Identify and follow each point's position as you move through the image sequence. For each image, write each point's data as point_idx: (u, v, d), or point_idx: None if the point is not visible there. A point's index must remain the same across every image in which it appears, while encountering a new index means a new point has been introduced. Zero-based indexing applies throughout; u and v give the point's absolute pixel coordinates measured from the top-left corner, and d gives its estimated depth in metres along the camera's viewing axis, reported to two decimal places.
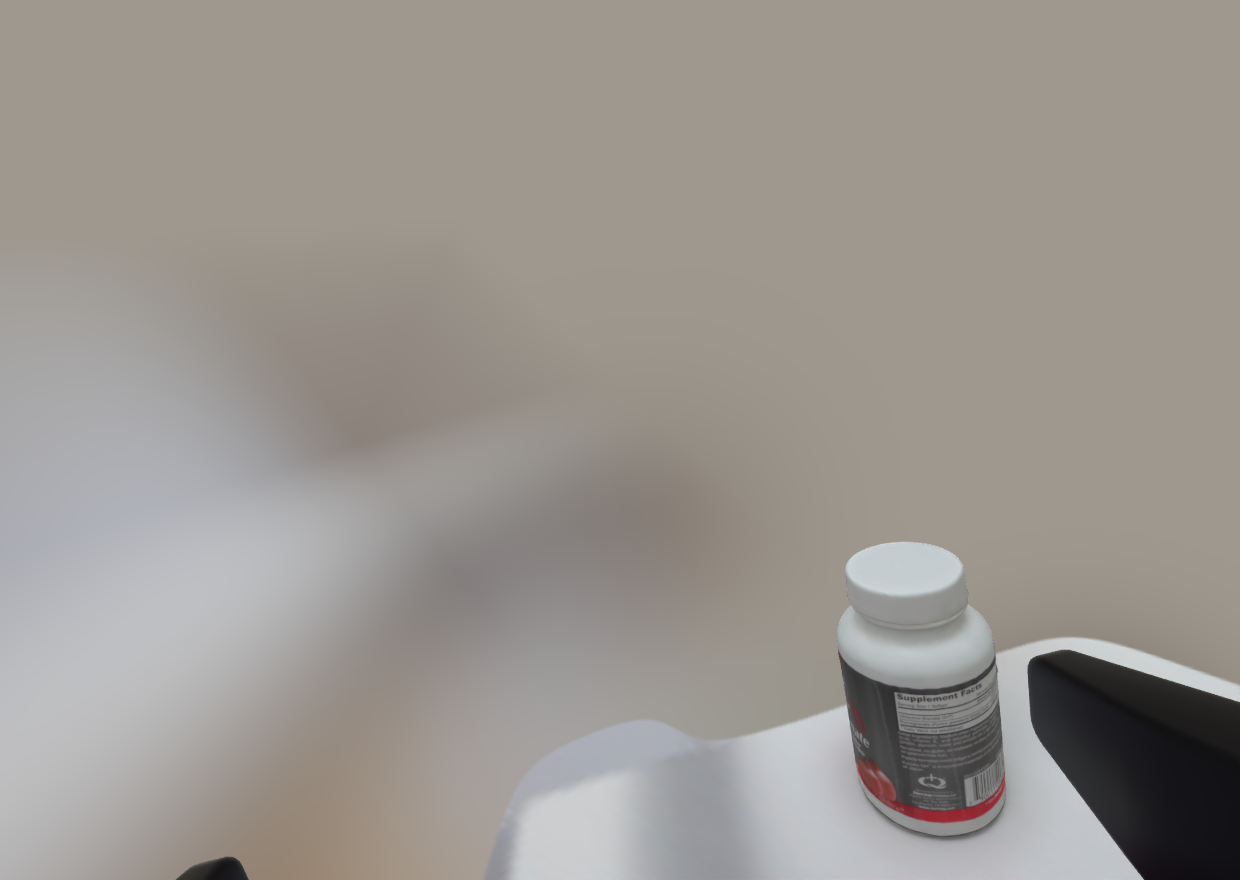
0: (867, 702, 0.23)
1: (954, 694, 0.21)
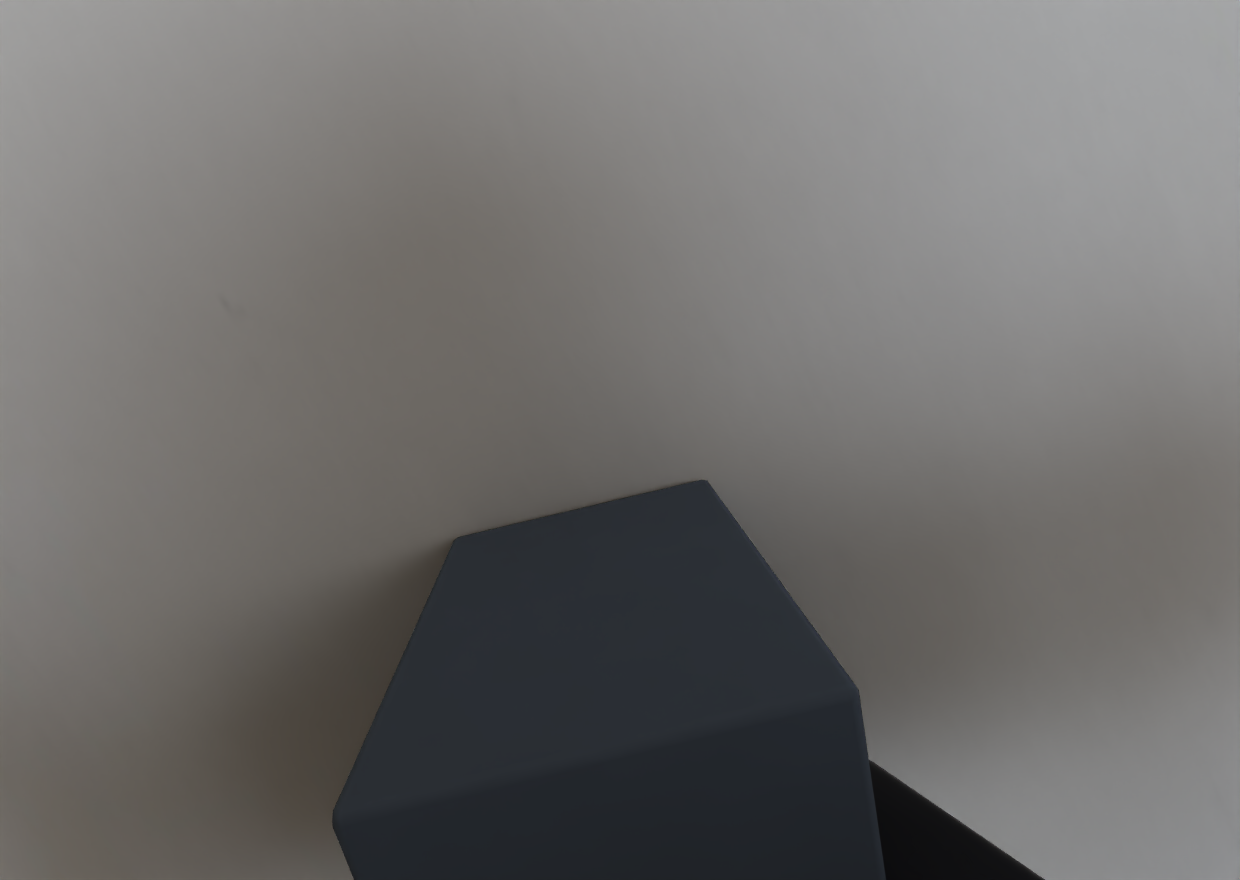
0: None
1: None
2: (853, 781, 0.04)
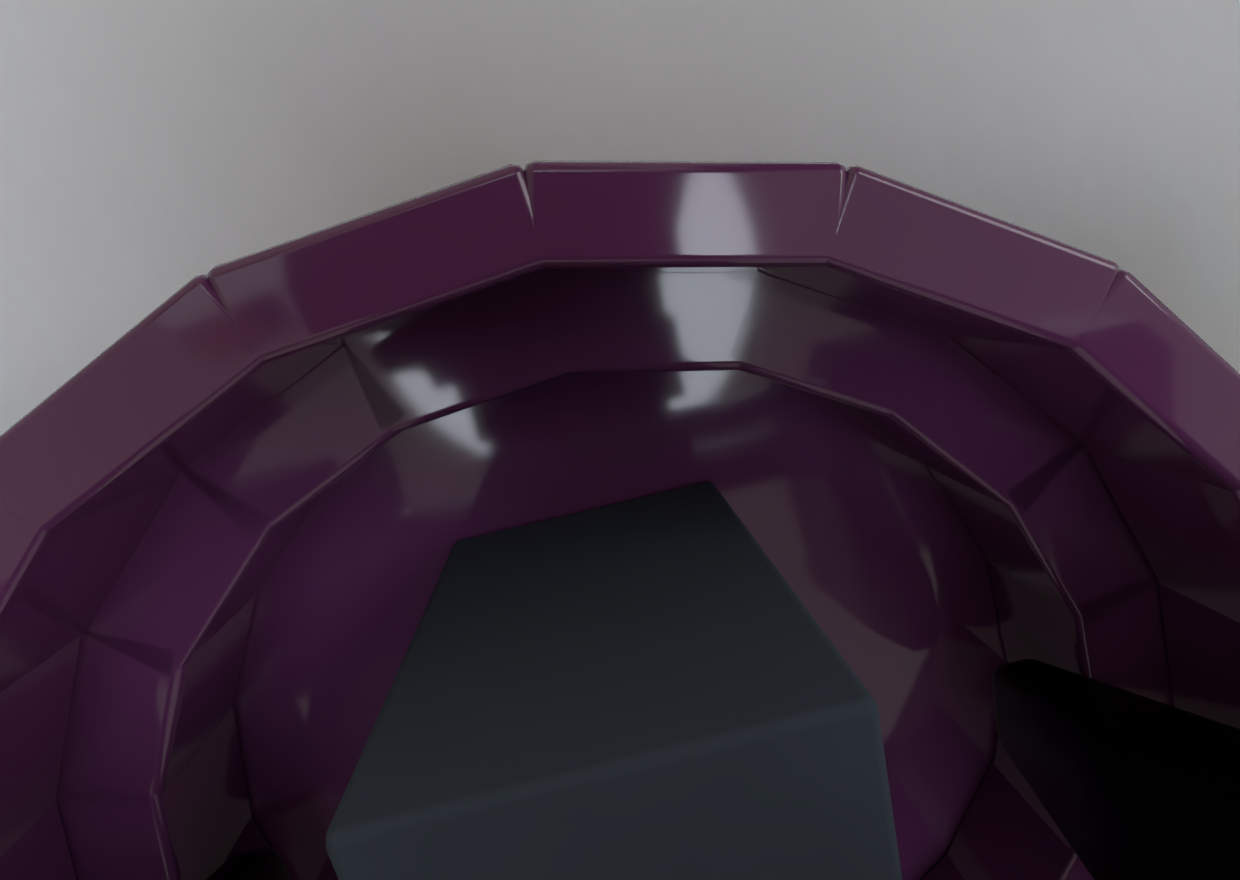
0: None
1: None
2: (872, 799, 0.03)
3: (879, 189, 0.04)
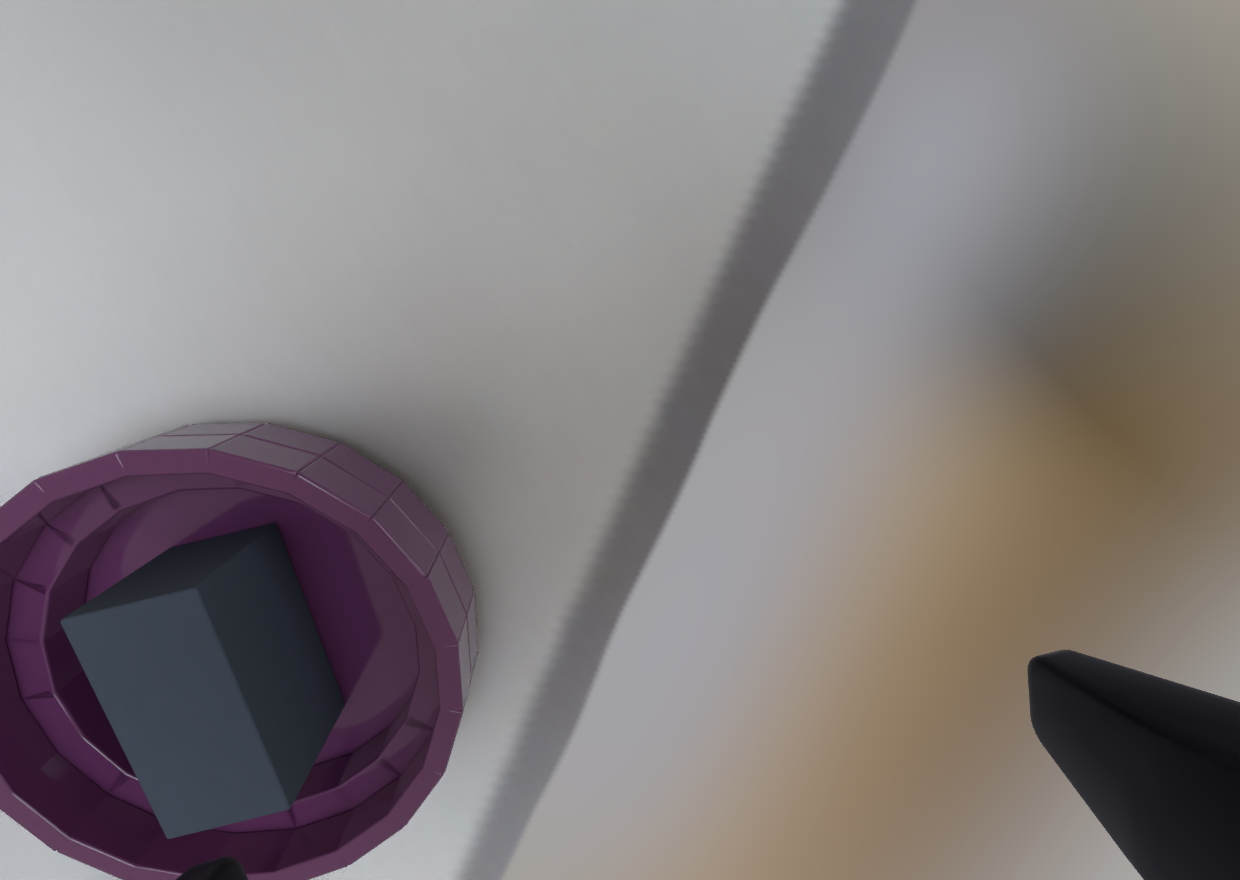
0: None
1: None
2: (198, 613, 0.14)
3: (216, 455, 0.14)
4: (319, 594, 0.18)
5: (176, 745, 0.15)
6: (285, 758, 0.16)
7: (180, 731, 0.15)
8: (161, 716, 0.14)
